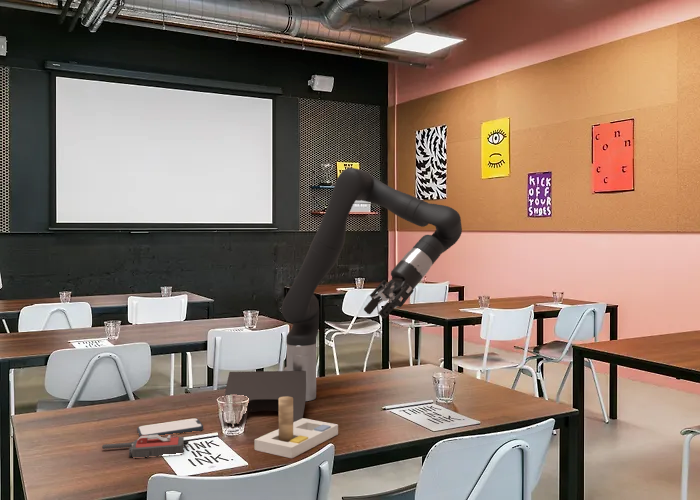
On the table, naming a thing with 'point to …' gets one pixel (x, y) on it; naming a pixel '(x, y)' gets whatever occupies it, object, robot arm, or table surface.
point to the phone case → (171, 427)
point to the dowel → (285, 418)
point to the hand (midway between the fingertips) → (373, 314)
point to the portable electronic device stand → (269, 389)
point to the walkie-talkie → (152, 446)
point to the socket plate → (297, 438)
